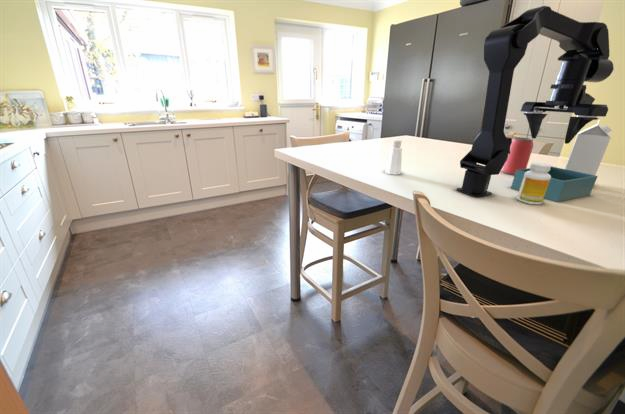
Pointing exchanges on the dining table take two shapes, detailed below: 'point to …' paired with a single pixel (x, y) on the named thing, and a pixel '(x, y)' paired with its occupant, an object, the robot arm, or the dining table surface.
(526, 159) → the beer can
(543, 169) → the supplement bottle
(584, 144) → the milk carton
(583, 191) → the bin
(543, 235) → the dining table surface
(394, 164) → the salt shaker
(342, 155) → the dining table surface
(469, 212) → the dining table surface
